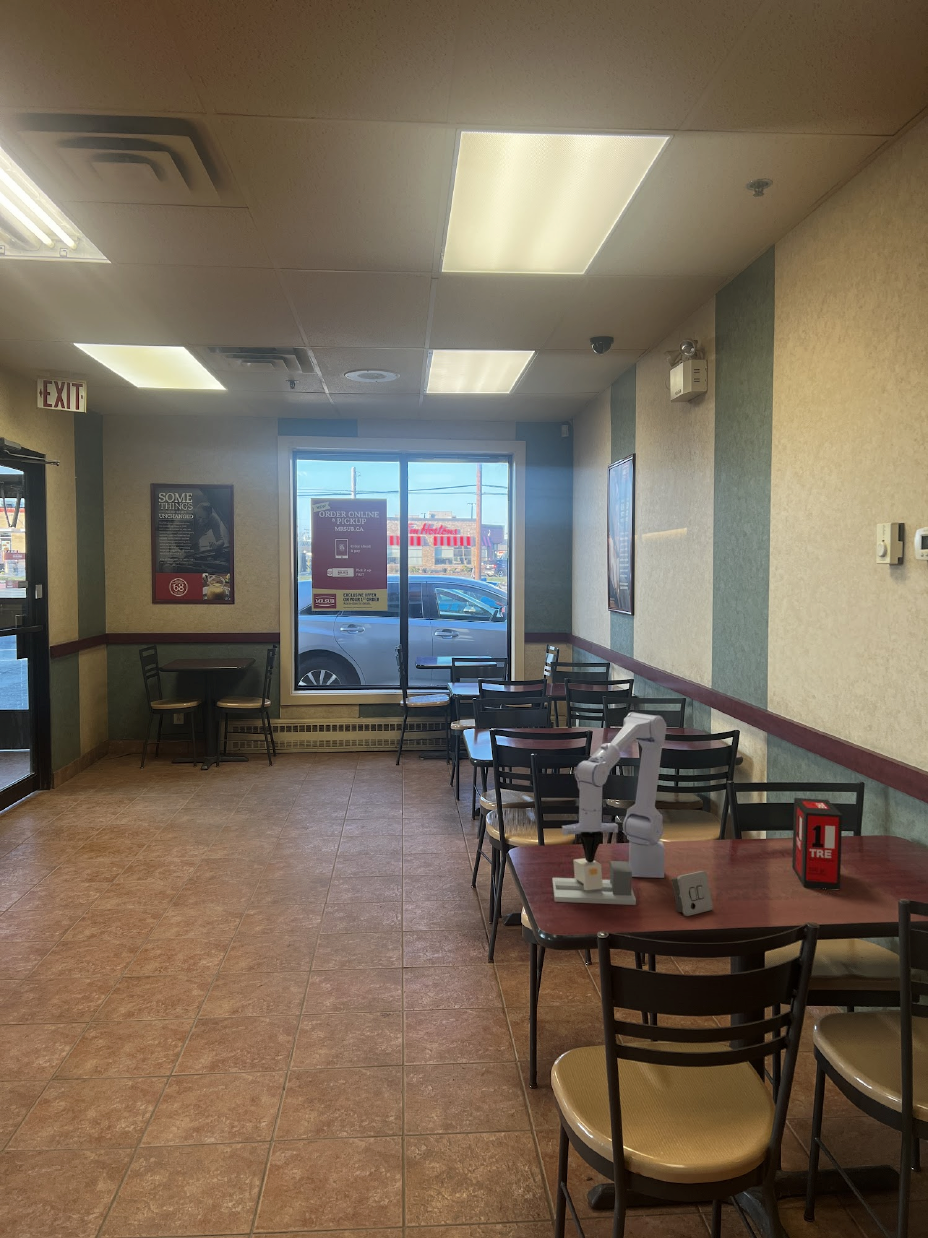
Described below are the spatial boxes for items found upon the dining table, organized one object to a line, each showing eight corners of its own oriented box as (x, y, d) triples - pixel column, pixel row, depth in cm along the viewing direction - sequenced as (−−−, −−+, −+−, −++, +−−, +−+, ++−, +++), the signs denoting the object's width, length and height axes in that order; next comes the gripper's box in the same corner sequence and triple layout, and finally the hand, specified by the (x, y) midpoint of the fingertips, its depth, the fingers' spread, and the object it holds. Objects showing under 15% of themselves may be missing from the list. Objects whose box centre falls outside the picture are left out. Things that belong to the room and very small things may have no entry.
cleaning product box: (839, 890, 216) (842, 815, 215) (803, 887, 218) (806, 812, 217) (825, 870, 232) (827, 800, 231) (792, 867, 234) (794, 797, 233)
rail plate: (628, 885, 217) (629, 858, 217) (635, 905, 203) (636, 876, 203) (552, 882, 219) (552, 855, 218) (554, 901, 205) (555, 873, 204)
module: (591, 881, 216) (589, 857, 216) (604, 889, 207) (602, 864, 208) (575, 883, 215) (573, 859, 215) (587, 891, 206) (585, 867, 207)
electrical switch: (686, 918, 196) (684, 878, 196) (670, 912, 200) (668, 874, 201) (713, 911, 201) (712, 872, 201) (697, 906, 205) (696, 868, 206)
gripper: (610, 803, 216) (609, 854, 216) (558, 805, 213) (557, 857, 213) (621, 810, 209) (620, 863, 210) (567, 812, 206) (566, 866, 206)
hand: (589, 861), depth 211 cm, fingers closed
